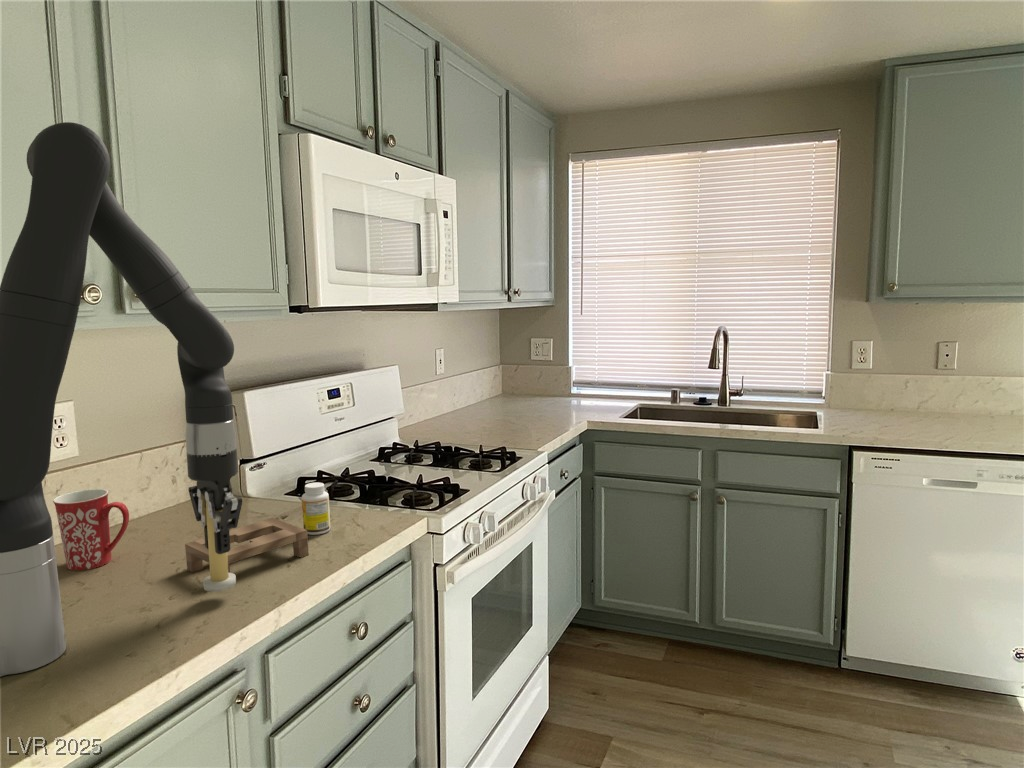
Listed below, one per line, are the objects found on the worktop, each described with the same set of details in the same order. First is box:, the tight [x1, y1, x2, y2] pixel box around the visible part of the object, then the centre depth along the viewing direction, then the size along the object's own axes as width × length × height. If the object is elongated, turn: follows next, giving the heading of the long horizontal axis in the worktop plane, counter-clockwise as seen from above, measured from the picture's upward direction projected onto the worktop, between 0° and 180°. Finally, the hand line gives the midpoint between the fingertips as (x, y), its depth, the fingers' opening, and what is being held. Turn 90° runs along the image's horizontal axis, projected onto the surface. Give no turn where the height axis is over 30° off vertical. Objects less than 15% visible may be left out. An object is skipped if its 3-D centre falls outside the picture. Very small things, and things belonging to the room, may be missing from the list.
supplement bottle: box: [301, 481, 331, 536], centre depth 147 cm, size 6×6×10 cm
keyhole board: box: [184, 517, 309, 573], centre depth 131 cm, size 18×12×5 cm, turn 140°
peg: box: [202, 501, 237, 593], centre depth 115 cm, size 5×5×15 cm
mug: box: [52, 488, 130, 571], centre depth 132 cm, size 13×9×14 cm
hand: (217, 549), depth 115 cm, fingers closed on peg, 2 cm apart
